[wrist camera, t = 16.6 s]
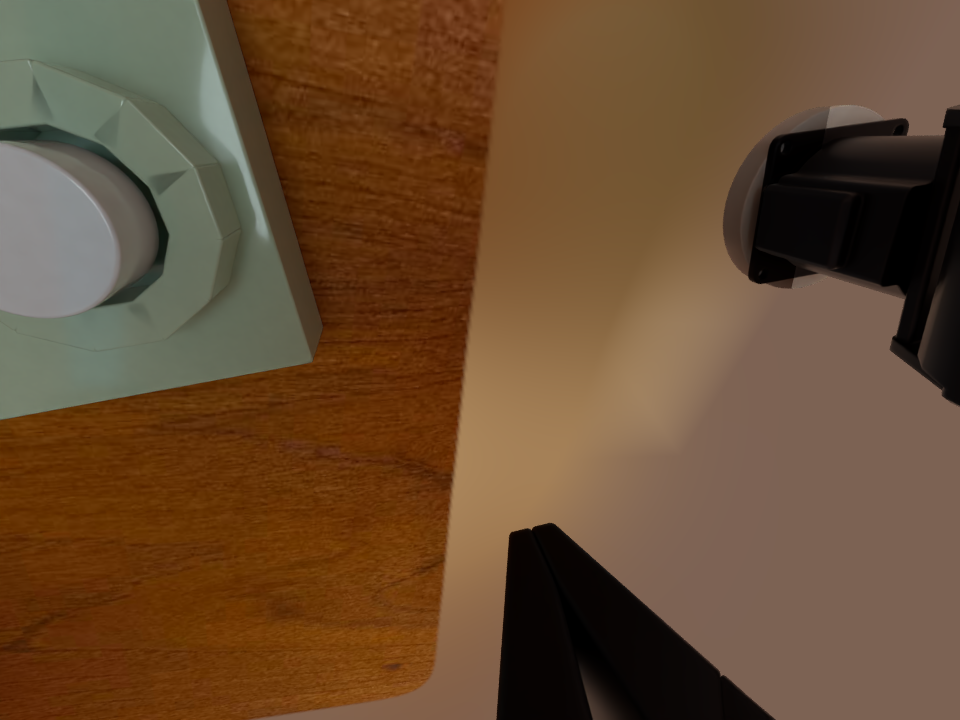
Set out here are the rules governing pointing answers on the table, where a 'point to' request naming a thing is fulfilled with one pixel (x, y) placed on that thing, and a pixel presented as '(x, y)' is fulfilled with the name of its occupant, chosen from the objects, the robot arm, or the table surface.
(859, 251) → the robot arm
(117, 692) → the table surface
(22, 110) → the pale green button base
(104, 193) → the push button
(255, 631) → the table surface
